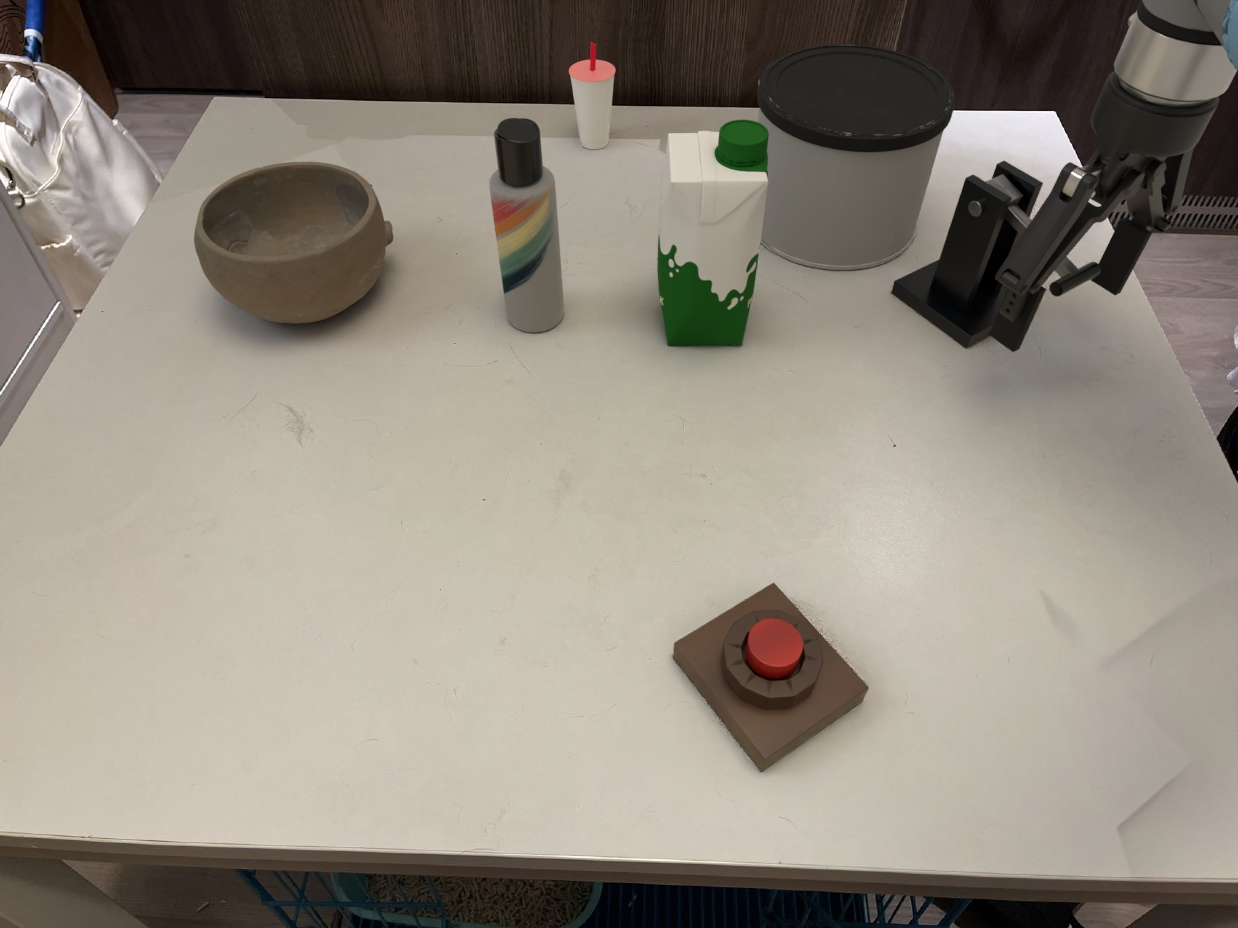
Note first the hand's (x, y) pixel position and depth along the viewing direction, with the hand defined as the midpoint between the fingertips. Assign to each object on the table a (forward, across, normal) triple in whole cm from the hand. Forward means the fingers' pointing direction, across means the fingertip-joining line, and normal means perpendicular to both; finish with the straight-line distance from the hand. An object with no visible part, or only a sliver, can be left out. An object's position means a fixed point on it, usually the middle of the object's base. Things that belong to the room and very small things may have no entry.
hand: (1055, 313), depth 80 cm
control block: (+5, +42, +12) cm, 44 cm away
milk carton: (+5, +23, -21) cm, 32 cm away
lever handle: (-4, 0, -5) cm, 7 cm away
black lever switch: (+5, 0, -9) cm, 11 cm away
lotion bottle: (+5, +36, -31) cm, 48 cm away
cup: (+5, +14, -55) cm, 57 cm away
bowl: (+5, +53, -47) cm, 71 cm away
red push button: (+2, +42, +12) cm, 44 cm away
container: (+5, +1, -27) cm, 28 cm away
